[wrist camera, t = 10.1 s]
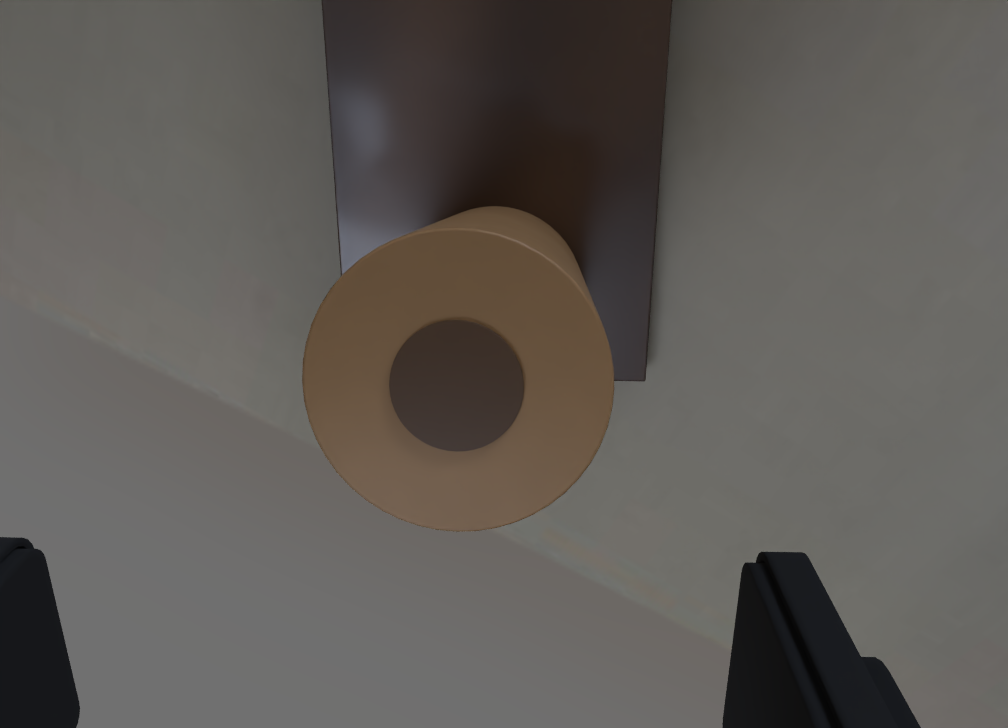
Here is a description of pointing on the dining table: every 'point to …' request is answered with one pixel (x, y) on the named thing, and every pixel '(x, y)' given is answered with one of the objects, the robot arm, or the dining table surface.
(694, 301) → the dining table surface
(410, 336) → the paper roll
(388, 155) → the holder
